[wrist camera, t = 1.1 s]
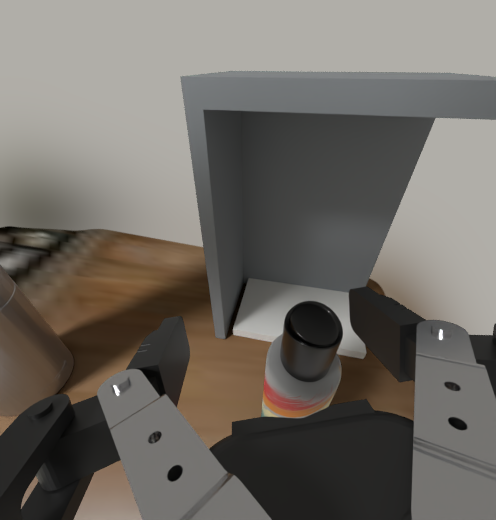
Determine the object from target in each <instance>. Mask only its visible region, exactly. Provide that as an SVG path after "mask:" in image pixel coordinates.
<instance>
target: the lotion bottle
mask: <svg viewBox="0 0 496 520" xmlns="http://www.w3.org/2000/svg"><path fill="white" fill-rule="evenodd" d="M342 338H343V328H342V324H341V322H340V320H339V318H338V316H337V315H336V314H335V312H334V311H333V310H332V309H330V308H329V307H328V306H326V305H325V304H323V303H320V302H317V301H304V302H301V303H298V304H296V305H295V306H293V307H292V308H291V309H290V310H289V311H288V313H287V314H286V317H285V320H284V326H283V334H281V335H280V336H278V337H277V338H276V339H275V340H274V341H273V342H272V344H271V346H270V348H269V350H268V354H267V360H266V369H265V380H264V392H263V403H262V414H261V417H264V416H267V417H284V418H304V417H307V416H309V415H311V414H314V413H316V412H318V411H320V410H323V409H325V408H327V407H329V405H330V403H331V401H332V399H333V397H334V394H335V392H336V390H337V388H338V386H339V383H340V380H341V374H342V369H341V362H340V359H339V357H338V355H337V350H338V348H339V346H340V343H341V341H342Z"/></svg>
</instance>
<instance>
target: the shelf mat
mask: <svg viewBox="0 0 496 520" xmlns="http://www.w3.org/2000/svg"><path fill="white" fill-rule="evenodd" d="M304 301H317V302H320V303H323V304H325V305H326V306H328V307H329V308H330V309H332V310H333V311H334V312H335V314H336V315H337V316H338V318H339V320H340V322H341V324H342V328H343V338H342V341H341V343H340V346H339V348H338V350H337V354H339V355H344V356H350V357H355V358H360V359H364V357H365V355H366V347H365V344H364V342H363V341H362V340H361V339H360V338H359V337H358V336H357V335H356V334H355V332H354V331H353V329H352V327H351V323H350V313H349V293H348V292H341V291H334V290H328V289H321V288H314V287H307V286H300V285H293V284H286V283H280V282H273V281H266V280H259V279H252V278H249V279H248V282H247V285H246V288H245V292H244V295H243V298H242V301H241V305H240V308H239V311H238V314H237V317H236V321H235V324H234V327H233V335H237V336H242V337H247V338H253V339H258V340H264V341H269V342H273V341H274V340H275V339H276V338H277V337H278V336H280V335H281V334H283V326H284V320H285V317H286V314H287V313H288V311H289V310H290V309H291V308H292V307H293V306H295V305H296V304H298V303H301V302H304Z"/></svg>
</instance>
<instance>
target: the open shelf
mask: <svg viewBox="0 0 496 520" xmlns="http://www.w3.org/2000/svg"><path fill="white" fill-rule="evenodd" d="M181 84H182V92H183V99H184V106H185V114H186V121H187V129H188V136H189V143H190V151H191V158H192V165H193V173H194V180H195V187H196V195H197V203H198V210H199V217H200V225H201V232H202V240H203V247H204V254H205V262H206V269H207V276H208V284H209V291H210V299H211V306H212V313H213V321H214V328H215V336H216V338H221V339H225V338H226V335H227V332H228V329H229V326H230V323H231V320H232V317H233V314H234V311H235V308H236V305H237V302H238V299H239V296H240V292H241V289H242V286H243V283H247V282H248V279H249V278H252V279H259V280H266V281H273V282H280V283H286V284H293V285H300V286H307V287H314V288H321V289H328V290H334V291H341V292H348V293H349V290H350V289H354V288H360V287H366V284H367V282H368V279H369V277H370V275H371V272H372V270H373V267H374V265H375V262H376V260H377V258H378V255H379V253H380V250H381V248H382V246H383V243H384V241H385V238H386V236H387V233H388V231H389V229H390V226H391V224H392V221H393V219H394V217H395V214H396V212H397V209H398V207H399V205H400V202H401V200H402V197H403V195H404V193H405V190H406V188H407V185H408V183H409V181H410V178H411V176H412V173H413V171H414V169H415V166H416V164H417V161H418V159H419V157H420V154H421V152H422V149H423V147H424V144H425V142H426V140H427V137H428V135H429V132H430V130H431V127H432V125H433V123H434V120H435V118H464V119H465V118H466V119H491V120H496V77H490V76H479V75H466V74H455V73H394V72H389V73H387V72H385V73H384V72H274V71H273V72H272V71H271V72H270V71H269V72H268V71H266V72H265V71H228V72H219V73H209V74H200V75H191V76H182V77H181Z"/></svg>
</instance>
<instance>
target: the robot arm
mask: <svg viewBox="0 0 496 520" xmlns="http://www.w3.org/2000/svg"><path fill="white" fill-rule="evenodd" d="M349 313H350V323H351V327H352V329H353V331H354V332H355V334H356V335H357V336H358V337H359V338H360V339H361V340H362V341H363V342H364V344H365V345H366V346H367V347H368V348H369V349H370V350H371V351H372V352H373V354H374V355H375V356H376V357H377V358H378V359H379V360H380V361H381V362H382V364H383V365H384V366H385V367H386V368H387V369H388V370H389V371H390V372H391V374H392V375H393V376H394V377H395V378H396V379H397V380H398V381H399V382H404V381H410V380H413V381H414V382H415V399H414V421H412V420H410V419H408V418H405V417H402V416H399V415H397V414H393V413H389V412H383V411H375V410H373V408H372V407H371V405H370V404H369V402H368V401H367V399H364V400H358V401H352V402H346V403H340V404H335V405H332V406H329V407H327V408H325V409H323V410H320V411H318V412H316V413H314V414H311V415H309V416H307V417H304V418H284V417H267V416H264V417H259V418H253V419H247V420H241V421H235V422H232V435H230V436H228V437H226V438H224V439H222V440H221V441H219V442H218V443H216V444H215V445H213V446H212V447H211V448H210V449H208V448H207V446H206V445H205V444H204V442H203V441H202V440H201V438H200V437H199V436H198V435H197V433H196V432H195V431H194V429H193V428H192V427H191V426H190V424H189V423H188V422H187V420H186V419H185V418H184V417H183V415H182V414H181V413H180V411H179V410H178V409H177V404H178V400H179V396H180V393H181V389H182V385H183V381H184V377H185V374H186V370H187V366H188V362H189V358H190V349H189V343H188V339H187V335H186V330H185V326H184V322H183V319H182V317H181V316H177V317H171V318H165V319H164V320H163V322H162V324H161V325H160V327H159V329H158V330H155V331H153V332H152V333H151V334H149V335H148V336H147V337H146V338H145V339H144V341H143V343H142V344H141V346H140V347H139V349H138V351H137V353H136V354H135V356H134V357H133V359H132V360H131V362H130V364H129V365H128V367H127V369H126V370H124V371H122V372H119V373H117V374H115V375H113V376H111V377H110V378H109V379H107V380H106V381H105V382H104V383H103V384H102V385H101V386H100V388H99V389H98V392H97V396H94V397H92V398H89V399H86V400H84V401H81V402H78V403H76V404H73V405H72V404H71V401H70V399H69V397H68V395H65V394H57V395H55V394H56V393H57V392H58V391H59V390H60V389H61V388H62V387H63V386H64V384H65V383H66V381H67V380H68V378H69V377H70V374H71V372H72V370H73V365H74V358H73V356H72V353H71V352H70V351H69V350H68V348H67V347H66V346H65V345H64V343H63V342H62V341H61V340H60V338H59V337H58V336H57V334H56V333H55V332H54V331H53V329H52V328H51V327H50V326H49V324H48V323H47V322H46V321H45V320H44V318H43V317H42V316H41V315H40V313H39V312H38V311H37V310H36V308H35V307H34V306H33V305H32V303H31V302H30V301H29V300H28V298H27V297H26V296H25V295H24V293H23V292H22V291H21V290H20V288H19V287H18V286H17V285H16V284H15V282H14V281H13V280H12V279H11V278H10V276H9V275H8V274H7V273H6V271H5V270H4V269H3V268H2V266H1V265H0V415H1V416H16V415H19V416H18V417H17V418H16V419H15V420H14V422H13V423H12V424H11V425H10V426H9V427H8V428H7V429H6V430H5V431H4V433H3V434H2V435H1V436H0V520H73V519H74V517H75V515H76V512H77V510H78V508H79V506H80V504H81V501H82V499H83V497H84V495H85V492H86V490H87V488H88V486H89V483H90V481H91V479H92V477H93V474H94V472H96V471H98V470H100V469H102V468H105V467H107V466H109V465H111V464H113V463H115V462H117V461H119V460H121V462H122V465H123V467H124V470H125V473H126V476H127V478H128V481H129V484H130V487H131V489H132V492H133V495H134V498H135V500H136V503H137V506H138V509H139V511H140V514H141V517H142V520H496V324H495V325H494V331H493V335H468V333H467V331H466V330H465V329H463V328H462V327H460V326H458V325H456V324H453V323H449V322H446V321H440V320H425V319H423V318H422V317H420V316H419V315H417V314H416V313H414V312H412V311H411V310H409V309H407V308H406V307H405V306H403V305H400V303H398V302H397V301H395V300H393V299H392V298H389V297H386V296H383V295H379V294H378V293H376V292H375V291H373V290H372V289H370V288H369V287H360V288H354V289H350V290H349ZM35 476H36V477H37V479H38V481H39V482H38V483H37V485H36V486H35V488H34V490H33V491H32V493H31V494H30V496H29V498H28V499H27V501H26V502H25V504H24V506H23V507H22V509H21V503H22V499H23V496H24V494H25V492H26V490H27V488H28V486H29V485H30V483H31V482H32V480H33V479H34V477H35Z"/></svg>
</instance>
